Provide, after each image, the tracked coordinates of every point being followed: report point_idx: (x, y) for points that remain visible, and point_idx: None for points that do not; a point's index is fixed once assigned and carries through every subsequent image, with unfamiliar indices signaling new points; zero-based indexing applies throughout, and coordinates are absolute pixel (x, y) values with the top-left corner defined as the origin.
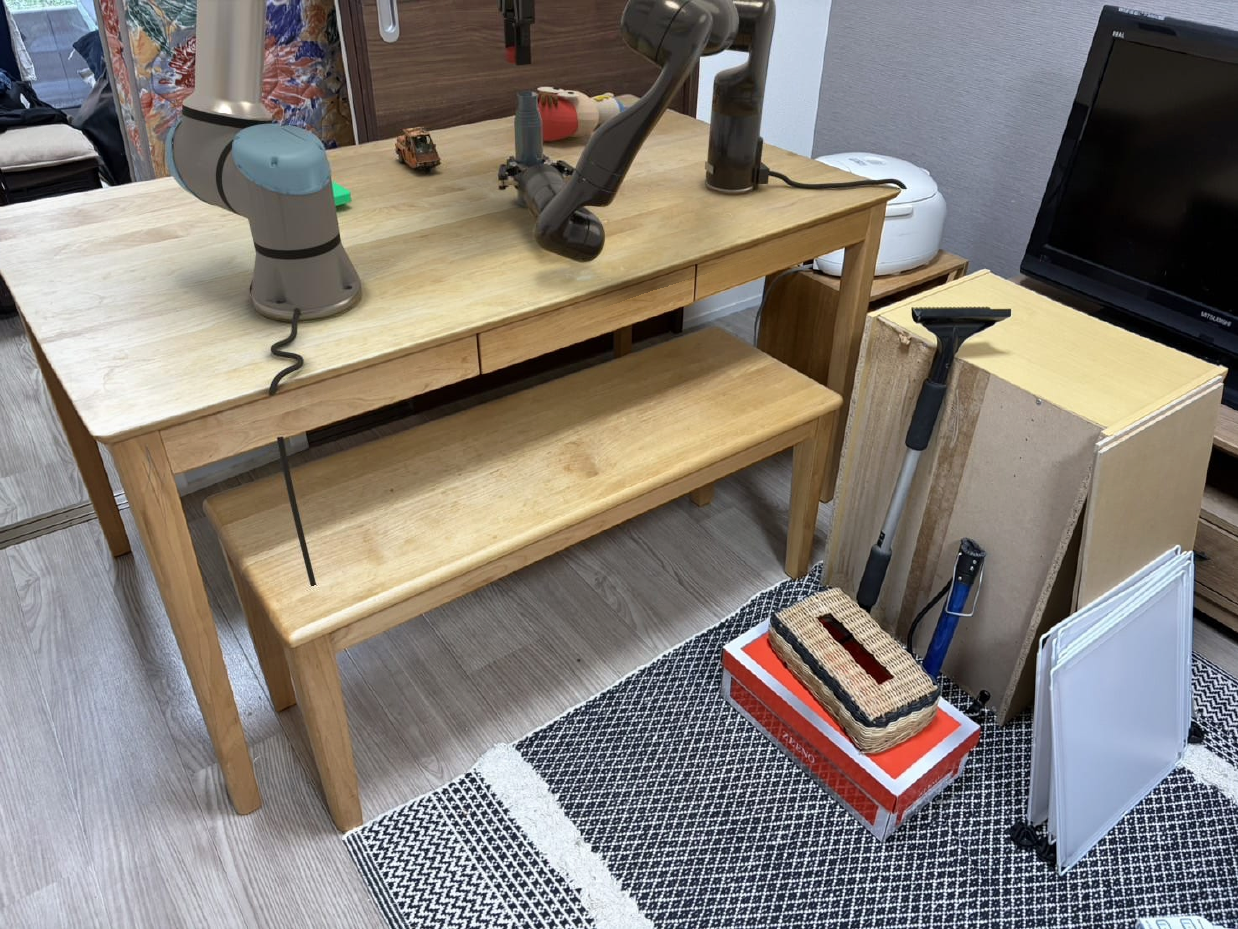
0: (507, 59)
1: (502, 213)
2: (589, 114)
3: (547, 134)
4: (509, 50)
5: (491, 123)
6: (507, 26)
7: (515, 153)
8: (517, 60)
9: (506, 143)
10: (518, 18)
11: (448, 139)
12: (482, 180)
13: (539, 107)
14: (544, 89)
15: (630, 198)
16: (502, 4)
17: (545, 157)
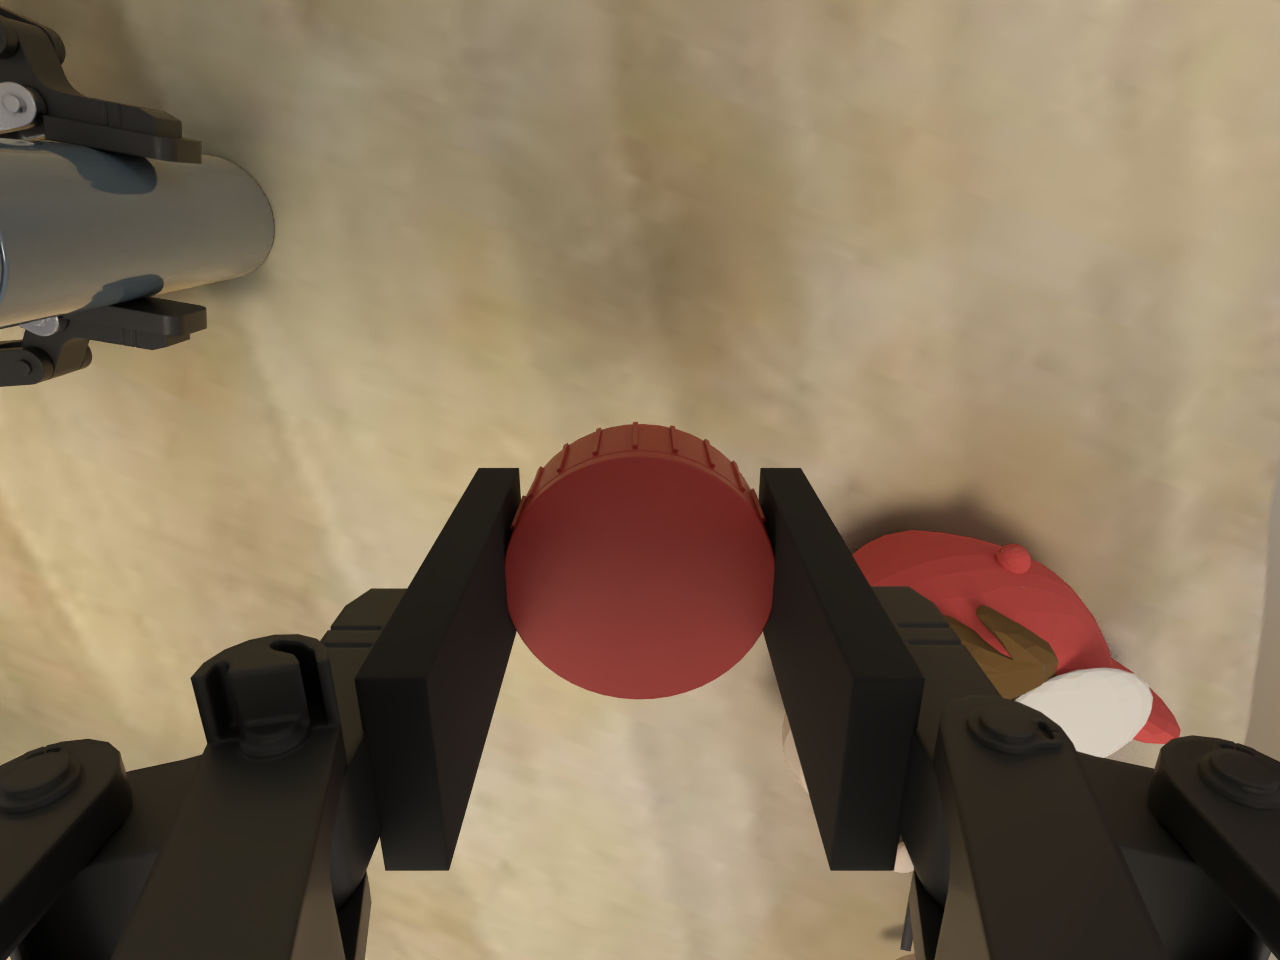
0: (619, 431)
1: (106, 39)
2: (795, 761)
3: (855, 557)
4: (626, 489)
5: (1263, 424)
6: (824, 650)
7: (55, 143)
8: (467, 488)
9: (968, 389)
10: (189, 801)
11: (1179, 138)
12: (544, 101)
13: (948, 598)
14: (1062, 692)
15: (189, 590)
16: (1117, 875)
17: (104, 321)
